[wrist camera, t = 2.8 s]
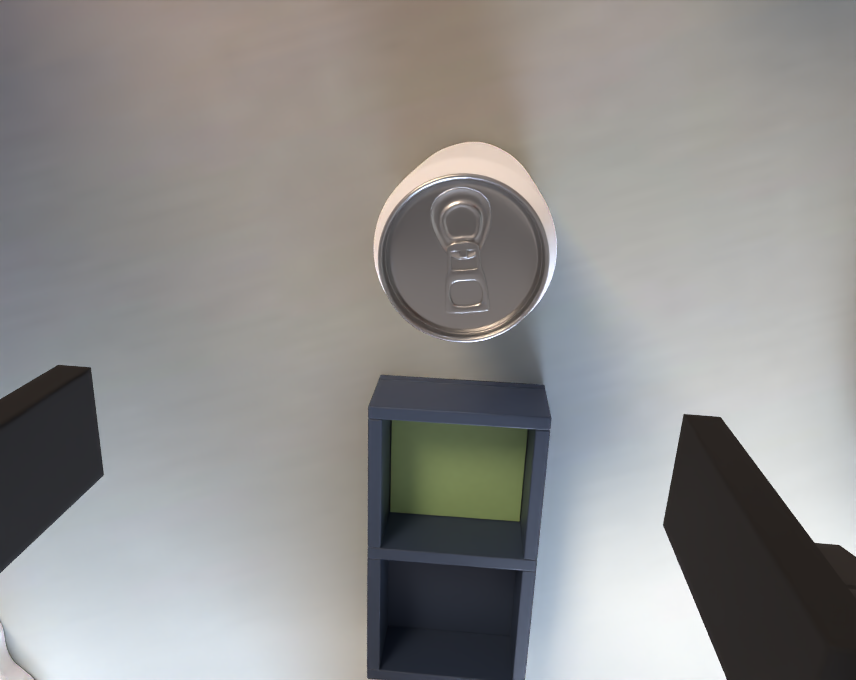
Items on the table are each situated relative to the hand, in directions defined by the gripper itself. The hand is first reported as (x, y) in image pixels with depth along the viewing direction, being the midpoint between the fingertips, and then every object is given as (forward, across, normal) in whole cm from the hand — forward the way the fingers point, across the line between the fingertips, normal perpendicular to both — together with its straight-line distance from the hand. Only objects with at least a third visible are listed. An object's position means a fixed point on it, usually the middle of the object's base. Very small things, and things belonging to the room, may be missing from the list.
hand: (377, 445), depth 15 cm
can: (+21, +1, +2) cm, 21 cm away
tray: (+20, +2, -15) cm, 25 cm away
